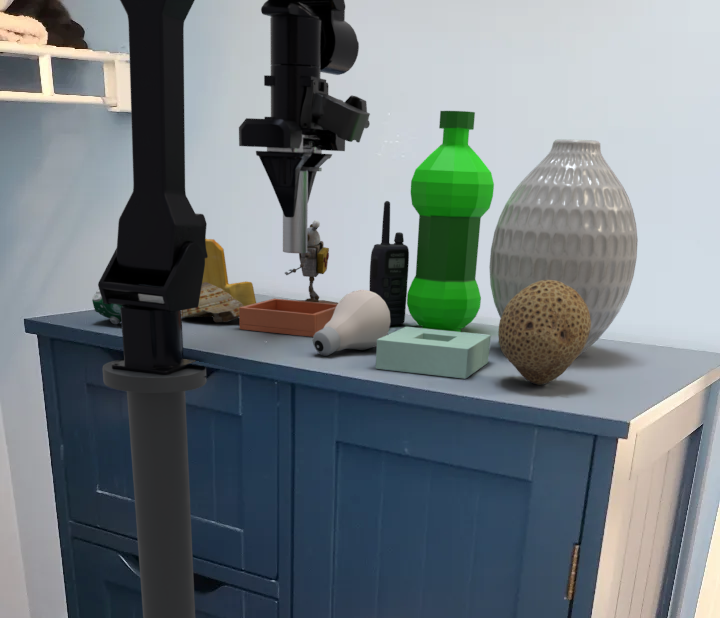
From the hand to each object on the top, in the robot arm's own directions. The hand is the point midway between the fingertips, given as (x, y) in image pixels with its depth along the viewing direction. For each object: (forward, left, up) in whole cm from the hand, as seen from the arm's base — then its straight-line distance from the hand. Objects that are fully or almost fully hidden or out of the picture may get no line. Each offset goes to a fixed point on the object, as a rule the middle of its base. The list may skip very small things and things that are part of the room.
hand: (294, 216), depth 115 cm
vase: (0, -33, -13) cm, 35 cm away
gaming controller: (-10, +18, -13) cm, 24 cm away
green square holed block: (-15, -23, -13) cm, 30 cm away
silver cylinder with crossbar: (0, 0, -4) cm, 4 cm away
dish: (0, 0, -13) cm, 13 cm away
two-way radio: (+9, -9, -13) cm, 19 cm away
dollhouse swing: (+11, +18, -13) cm, 25 cm away
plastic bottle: (+9, -17, -13) cm, 23 cm away
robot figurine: (+14, +3, -13) cm, 20 cm away
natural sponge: (-19, -35, -13) cm, 42 cm away
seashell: (-1, +11, -13) cm, 17 cm away
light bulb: (-12, -12, -13) cm, 21 cm away
